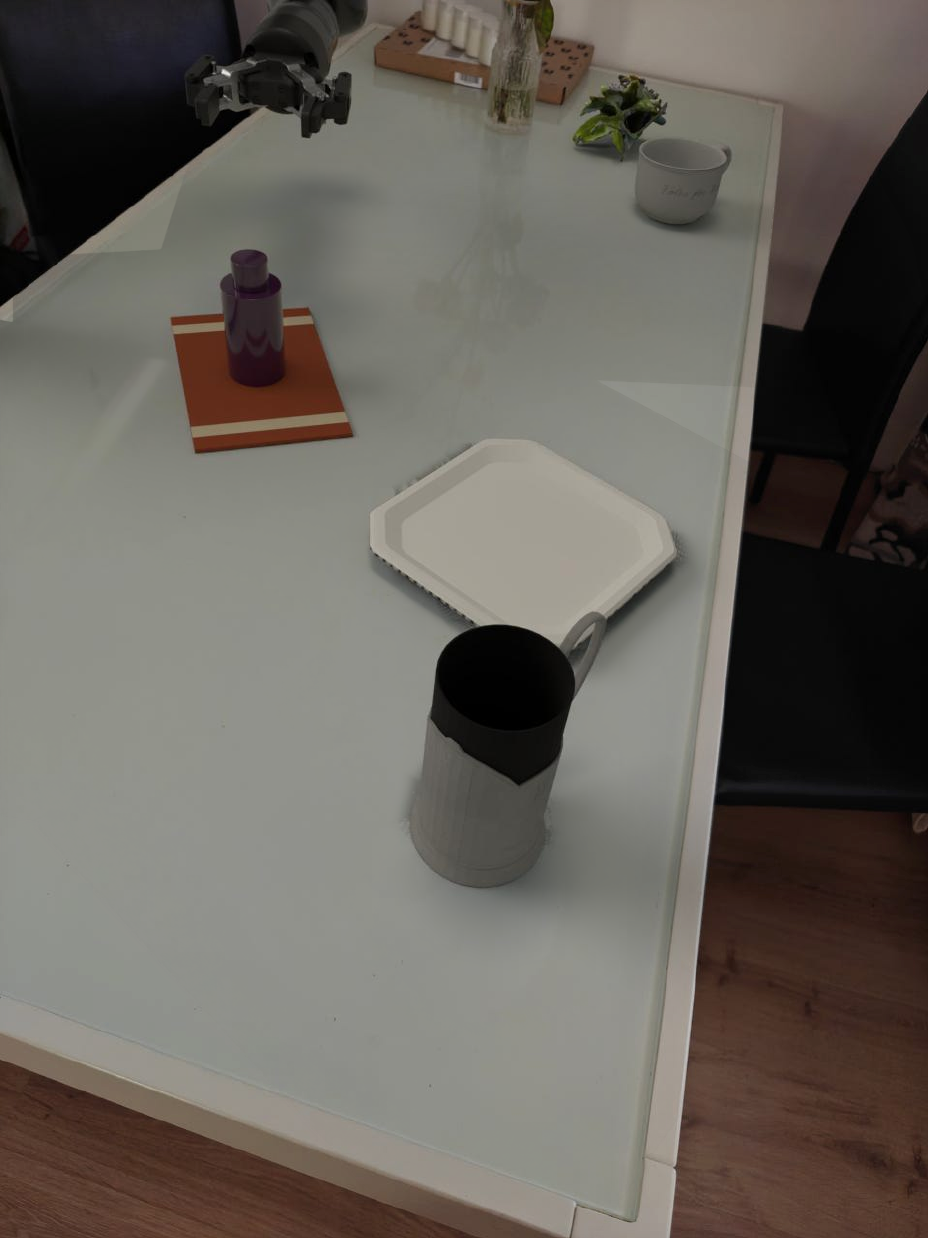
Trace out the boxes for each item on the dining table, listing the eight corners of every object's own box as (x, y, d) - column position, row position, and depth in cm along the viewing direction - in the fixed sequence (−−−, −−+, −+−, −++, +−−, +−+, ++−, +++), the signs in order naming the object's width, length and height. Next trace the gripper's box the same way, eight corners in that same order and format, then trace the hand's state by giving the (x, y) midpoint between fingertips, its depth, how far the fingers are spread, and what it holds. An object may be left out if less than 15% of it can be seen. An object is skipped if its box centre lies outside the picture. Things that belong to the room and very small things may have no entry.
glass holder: (381, 825, 63) (389, 674, 52) (522, 702, 71) (555, 548, 60) (484, 915, 59) (516, 773, 49) (621, 775, 67) (675, 626, 56)
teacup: (655, 237, 123) (670, 172, 117) (611, 199, 129) (624, 135, 123) (746, 225, 127) (765, 162, 121) (700, 188, 134) (716, 127, 128)
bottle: (240, 391, 93) (229, 277, 84) (220, 361, 96) (208, 248, 87) (294, 380, 95) (289, 267, 86) (273, 350, 98) (267, 238, 89)
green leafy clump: (612, 177, 147) (671, 106, 142) (627, 195, 138) (690, 121, 133) (556, 125, 142) (615, 50, 137) (568, 140, 133) (631, 61, 128)
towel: (171, 320, 100) (170, 316, 100) (308, 310, 104) (308, 306, 104) (195, 453, 87) (194, 449, 86) (352, 436, 90) (352, 432, 90)
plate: (342, 547, 80) (342, 527, 78) (503, 442, 91) (506, 422, 90) (542, 689, 72) (547, 669, 70) (692, 553, 83) (699, 534, 82)
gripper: (212, 2, 92) (165, 61, 81) (364, 22, 93) (339, 82, 81) (218, 89, 98) (176, 155, 86) (362, 107, 98) (338, 174, 87)
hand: (255, 120), depth 84 cm, fingers open, 8 cm apart
